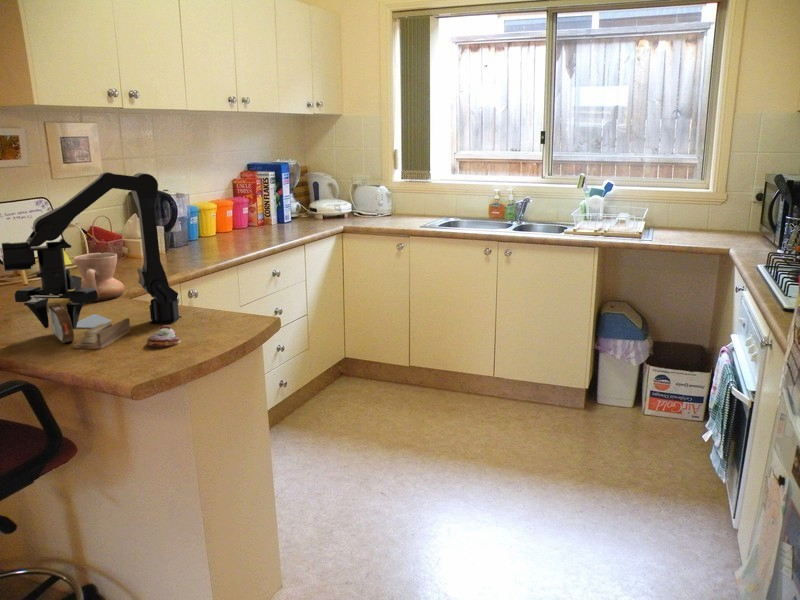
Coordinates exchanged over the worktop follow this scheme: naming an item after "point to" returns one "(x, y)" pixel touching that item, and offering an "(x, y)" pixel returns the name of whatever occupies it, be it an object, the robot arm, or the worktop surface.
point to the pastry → (163, 338)
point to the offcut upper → (96, 329)
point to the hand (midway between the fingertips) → (60, 328)
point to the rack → (108, 335)
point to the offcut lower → (89, 339)
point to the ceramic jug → (100, 274)
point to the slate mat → (91, 322)
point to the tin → (61, 323)
